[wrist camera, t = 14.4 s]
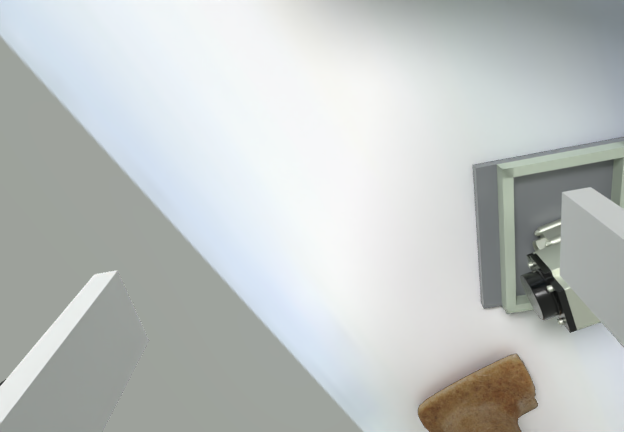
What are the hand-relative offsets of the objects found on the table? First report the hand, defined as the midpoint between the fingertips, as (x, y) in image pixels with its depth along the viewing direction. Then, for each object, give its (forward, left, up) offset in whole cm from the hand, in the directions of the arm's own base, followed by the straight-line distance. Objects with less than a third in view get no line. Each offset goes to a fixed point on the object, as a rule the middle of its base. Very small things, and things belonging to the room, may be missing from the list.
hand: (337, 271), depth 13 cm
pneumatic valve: (+18, +21, -31) cm, 41 cm away
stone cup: (+42, +12, -32) cm, 54 cm away
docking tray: (+19, +21, -32) cm, 42 cm away
